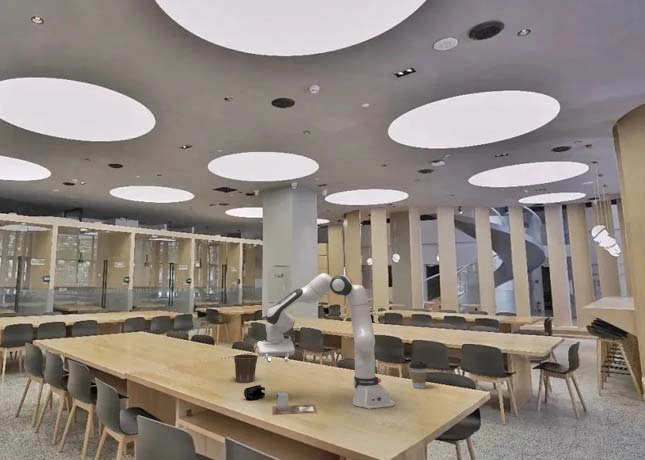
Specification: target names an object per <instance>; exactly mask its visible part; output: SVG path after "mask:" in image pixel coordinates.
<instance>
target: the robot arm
mask: <svg viewBox="0 0 645 460" xmlns="http://www.w3.org/2000/svg"><path fill="white" fill-rule="evenodd" d="M330 291H332V293H334V295H335V294H336V295H338V296H339V295H340V296H345V297H347V301H348V306H349V313H350V315H349V316H350V321H351V327H352V334H353V340H354V343H353V345H354V348H353V349H354V350H353V351H354V376H353V387H354V392H353V397H352V398H353V399H352V405H354V406H356V407H360V408H365V409H370V410H372V409H377V408H378V409H379V408H389V407H395V401H394V400H393V399H391V397H390V393H389V391H388V390H387V389H386V388H385V387H384V386H383V385H381V384H380V383H382V379H381V378H379V377H378V376H377V375H376V360H375V357H376V356H375V345H376V338H375V333H374V327H373V322H372V316H371V315H372V314H371V310H370V309H371V308H370V302H369V297H368V294H367V291H366V289H365V287H364V286H363V285H362V284H353V282H352V279H351V278H350V277H348V276H347V275H345V274H337V275H335V276H333V277H331V275H329V274H328V273H326V272H321V273H320V274H318V275H317V276H316V277H314V278H313V279H312V280H311V281H310V282H309V283H307V285H304V286H303V287H301V288H296V289H295V290H293V291H292V292H290V293H289V294H288V295H286V296H285V297H284V298H282V299H281V300H280V301H279V302H278V303H276V304H274V305H272V306H270V307H269V308H268V309H267V311H266V313H265V332H266V340H259V341H258V342H256V346H257V348H258V350H257V351H258V352H257V356H258V357H261V358H262V357H264V359H266V361H267V363H269V364H270V363H271V361H272V360H271V357H281V356H285V357H284V362H286V363H287V362H289V356H293V355H294V354H295V352H296V349H295V345H294V342H293V340H292V337H291V336H290V335H286V334H284V333H287V332H289V331H291V330H292V329H293V327H294V326H295V317H294V316H292V315H291V314H290V313H288V312H287V311H286V310H288V309H289V308H290V307H291V306H293V305H294V304H296V303H303V304H304V303H306V304H310V305H311V304H312V305H313V304H315V303H317V302H319V301H320V300H321V299H322V298H323V297H325V295H326V294H327V293H329V292H330Z"/></svg>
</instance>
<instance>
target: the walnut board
mask: <svg viewBox="0 0 645 460" xmlns="http://www.w3.org/2000/svg"><path fill="white" fill-rule="evenodd" d="M271 408H272V409H271V410H272V411H271V412H272V413H271V414H272V416H277V415H301V414H303V415H304V414H318V411H317V408H316V404H298V405H297V404H296V405H293V404H292V405H288V410H287V411H278V410H277V405H274V406H273V405H272V406H271Z"/></svg>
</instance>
